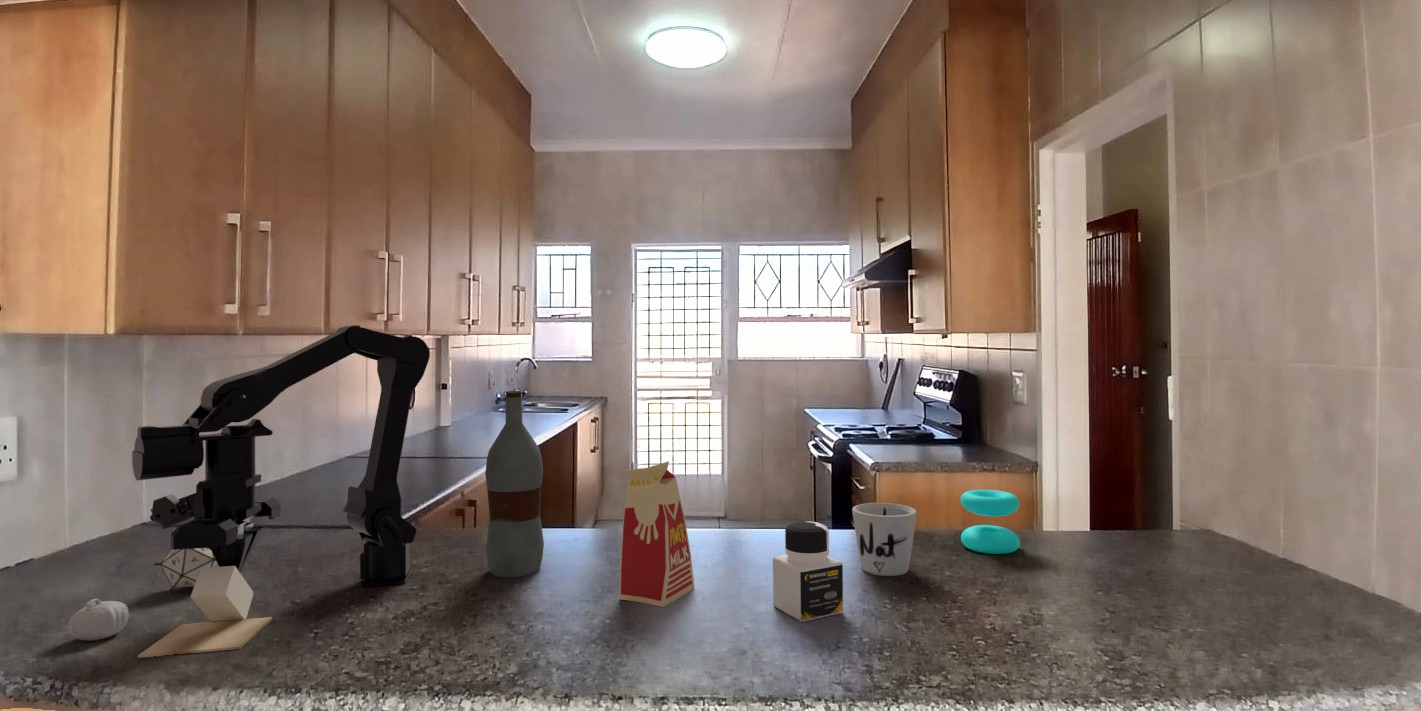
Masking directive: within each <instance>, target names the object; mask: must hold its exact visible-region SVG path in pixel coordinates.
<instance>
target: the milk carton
mask: <svg viewBox="0 0 1421 711" xmlns="http://www.w3.org/2000/svg"><path fill="white" fill-rule="evenodd" d="M669 463H670V461H666V462H662V463H661V462H660V463H658V464H655V465H652V466H649V467H641V468H640V467H639V468H633V469H624V470H623V471H624V472H625V473H627V474H628V476H627V481H626V482H627V484H626V488H625V498H624V499H625V500H624V509H623V510H624V511H623V519H622V520H623V521H622V530H621V531H622V532H621V533H622V534H621V550H620V562H619V563H620V566H619V596H618V598H619V600H621V601H622V600H623V601H628V602H629V601H631V602H637V603H638V602H639V603H643V604H647V605H651V606H657V607H661V608H664V607H666V606H668V605H669V604H672V603H673V602H674V601H676V600H678V599H680V598H681V597H683V596H684V595H686V594H688V593H689V592H691V591H692V590H694V589H695V581H694V580H695V579H694V570H693V563H692V562H693V561H692V553H691V548H690V543H689V542H690V541H689V536H688V529H687V523H686V517H685V512H684V508H683V504H682V501H681V500H682V499H681V495H680V492H679V487H678V483H677V478H676V476H675V475H674V474H673V473H672V472H671V471H670V470H668V468H669V467H668V466H669Z"/></svg>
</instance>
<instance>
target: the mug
mask: <svg viewBox="0 0 1421 711" xmlns="http://www.w3.org/2000/svg"><path fill="white" fill-rule="evenodd" d="M851 512H852V516H853V517H852V518H853V524H854V529H855V532H854V533H855V537H856V544H857V548H858V555H859V562H860V568H861V569H862V570H863V571H864V572H867V573H869V574H872V575H876V576H880V577H896V576H902V575H905V574H906V573H908V572H909V569H910V564H911V563H910V562H911V556H912V550H913V544H914V543H913V542H914V536H915V530H916V529H915V528H916V523H917V522H916V521H917V517H918V516H917V515H918V512H917V510H916V509H915V508H913V507H912V506H908V505H904V504H900V503H891V502H868V503H866V502H865V503H862V504H857V505H855V506H853V507H852V510H851Z"/></svg>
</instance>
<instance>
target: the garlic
mask: <svg viewBox="0 0 1421 711" xmlns="http://www.w3.org/2000/svg"><path fill="white" fill-rule="evenodd" d="M84 605H85V606H84V607H82V608H81V609H80V610H78V611H77V612H75V613H74V614H72V616H70V618H69V619H68V623H67V629H68V631H69V634H70V635H71V636H72V637H73V638H74V639H77V640H81V641H100V640H104V638H105V639H108V638H110V637H112V636H114V635H116V634H117V633H119V632H121V630H122V629H124V628H125V626H126V625H127V624H128V621H129V616H130V615H129V608H128V606H127V604H125V603H124V602H121V601H116V600H105V601H102V600H100V599H99V598H93V599H91V600H88V601H87V602H86V603H85V604H84ZM99 639H100V640H99Z"/></svg>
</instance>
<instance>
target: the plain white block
mask: <svg viewBox="0 0 1421 711" xmlns="http://www.w3.org/2000/svg"><path fill="white" fill-rule="evenodd" d="M253 597H254V591H253V589H252V588H251V587H250V584H248V582H247V581H246V579H245V578H244V577H243V574H242V573H241V574H240V572H239V571H238V569H237V568H236V567H235V566H225V567H210V568H201V569H200V572H199V575H198V577H197V580H196V583H195V586H193V589H192V591H191V595H190V599H191V600H192V601H193V602H194V603H195V604H196V605H197V607H198V608H199V609H200V610H201V612H202V613H203V614H204V615H205V616H206V617H207V618H208V620H210V621H209V622H216V621H229V620H241V619H248V618H247V617H248V613H249V610H250V607H251V603H252V600H253Z"/></svg>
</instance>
